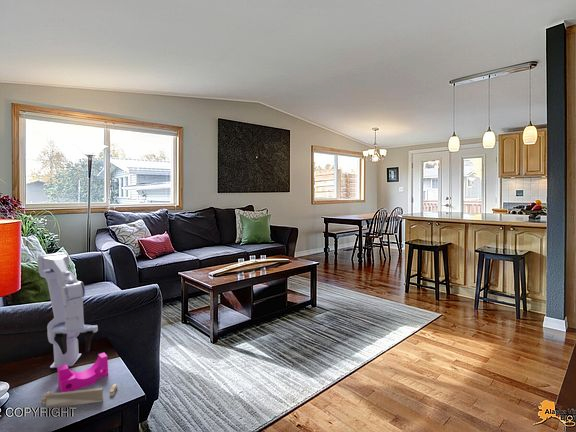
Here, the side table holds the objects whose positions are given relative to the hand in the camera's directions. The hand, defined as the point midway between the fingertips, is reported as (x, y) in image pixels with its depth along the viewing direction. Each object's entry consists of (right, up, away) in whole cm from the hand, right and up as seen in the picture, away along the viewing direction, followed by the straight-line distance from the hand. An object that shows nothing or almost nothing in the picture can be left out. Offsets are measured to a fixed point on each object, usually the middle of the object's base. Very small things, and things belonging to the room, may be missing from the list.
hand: (76, 352), depth 126 cm
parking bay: (+8, -10, -11) cm, 17 cm away
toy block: (+5, -10, -3) cm, 11 cm away
